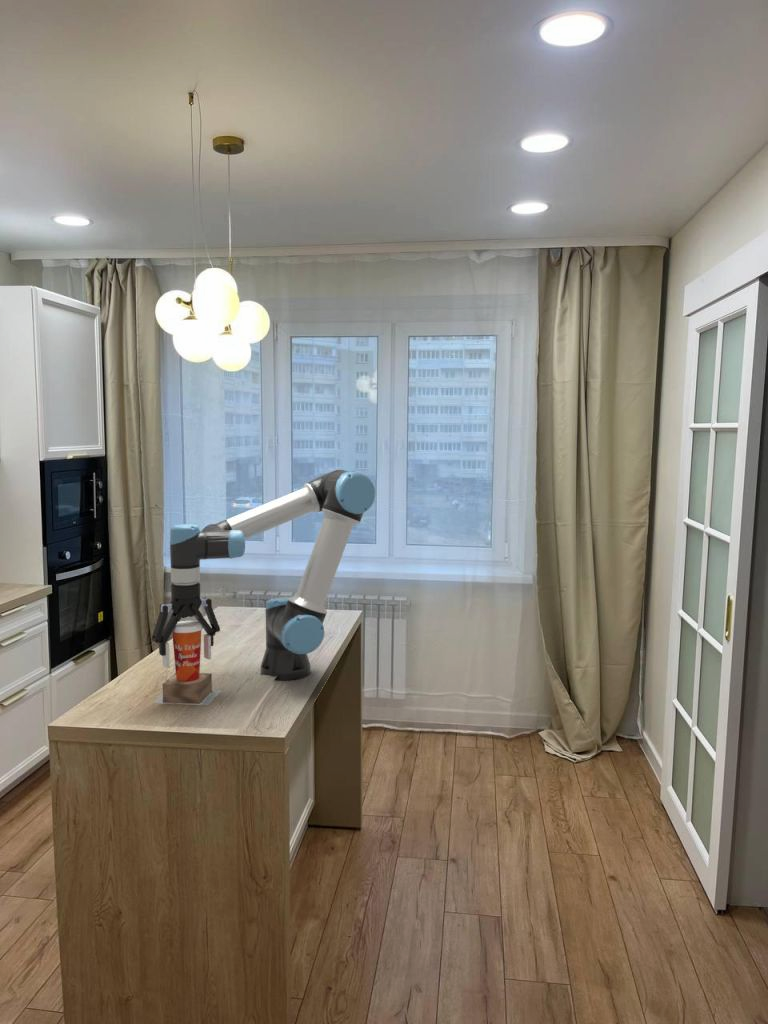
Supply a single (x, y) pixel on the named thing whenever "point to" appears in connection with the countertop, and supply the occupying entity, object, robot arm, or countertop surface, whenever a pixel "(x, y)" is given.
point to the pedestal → (187, 689)
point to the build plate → (204, 702)
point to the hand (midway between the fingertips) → (187, 662)
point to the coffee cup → (187, 650)
